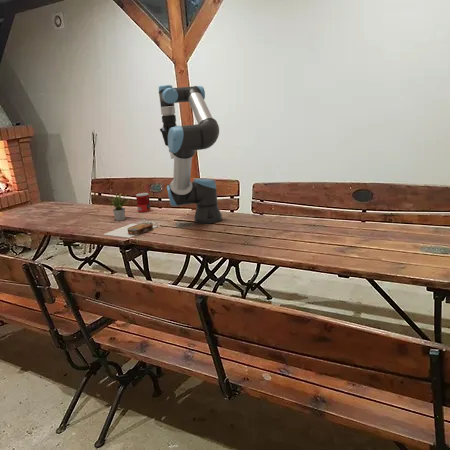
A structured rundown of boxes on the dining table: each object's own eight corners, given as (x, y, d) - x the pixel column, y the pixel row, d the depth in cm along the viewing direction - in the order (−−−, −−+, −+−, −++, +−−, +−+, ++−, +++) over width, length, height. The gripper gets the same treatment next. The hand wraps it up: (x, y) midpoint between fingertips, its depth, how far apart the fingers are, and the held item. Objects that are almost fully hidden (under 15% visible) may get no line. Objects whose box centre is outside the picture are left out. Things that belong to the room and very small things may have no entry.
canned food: (150, 211, 285) (148, 194, 282) (137, 213, 284) (135, 195, 281) (151, 209, 292) (149, 192, 289) (138, 210, 292) (136, 193, 289)
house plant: (115, 224, 261) (111, 196, 257) (102, 221, 271) (98, 194, 266) (135, 218, 271) (132, 191, 267) (122, 215, 280) (118, 189, 276)
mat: (157, 226, 248) (157, 226, 248) (129, 238, 230) (128, 237, 230) (132, 224, 258) (132, 223, 258) (103, 235, 241) (102, 234, 241)
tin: (134, 231, 232) (123, 228, 237) (135, 236, 233) (124, 233, 238) (156, 223, 243) (145, 220, 248) (156, 229, 244) (145, 226, 249)
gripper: (182, 113, 247) (186, 157, 253) (163, 115, 254) (168, 157, 260) (173, 114, 241) (178, 159, 247) (154, 116, 248) (160, 159, 254)
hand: (173, 158), depth 254 cm, fingers closed
